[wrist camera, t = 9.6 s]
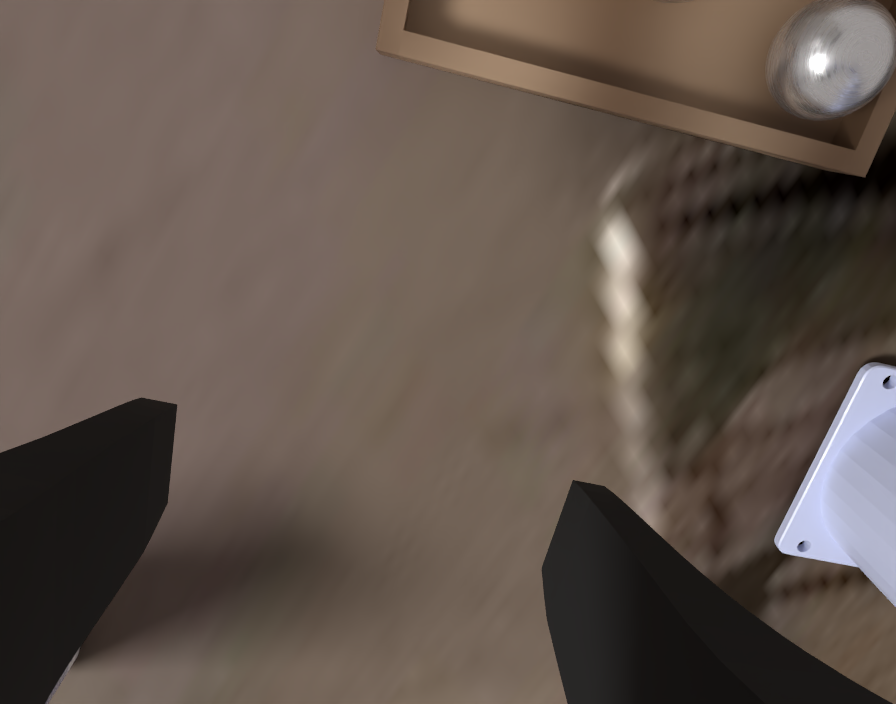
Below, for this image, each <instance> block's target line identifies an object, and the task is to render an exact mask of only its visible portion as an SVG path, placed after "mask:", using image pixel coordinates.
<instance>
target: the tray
mask: <svg viewBox="0 0 896 704" xmlns="http://www.w3.org/2000/svg"><path fill="white" fill-rule="evenodd" d="M813 1H815V0H693V1H689V2H684V3H663V2H658V1H654V0H384V5H383V11H382V16H381V22H380V27H379V33H378V39H377V44H376V50H377V51H378V52H379V53H380V54H381V55H385V56H389V57H393V58H397V59H400V60H404V61H408V62H412V63H416V64H420V65H423V66H427V67H431V68H435V69H439V70H443V71H446V72H450V73H454V74H458V75H462V76H466V77H469V78H473V79H477V80H481V81H485V82H489V83H492V84H496V85H500V86H504V87H508V88H512V89H515V90H519V91H523V92H527V93H531V94H535V95H538V96H542V97H546V98H550V99H554V100H558V101H561V102H565V103H569V104H573V105H577V106H581V107H584V108H588V109H592V110H596V111H600V112H604V113H607V114H611V115H615V116H619V117H623V118H627V119H630V120H634V121H638V122H642V123H646V124H650V125H653V126H657V127H661V128H665V129H669V130H673V131H676V132H680V133H684V134H688V135H692V136H696V137H699V138H703V139H707V140H711V141H715V142H719V143H722V144H726V145H730V146H734V147H738V148H742V149H745V150H749V151H753V152H757V153H761V154H765V155H768V156H772V157H776V158H780V159H784V160H788V161H791V162H795V163H799V164H803V165H807V166H811V167H814V168H818V169H822V170H827V171H832V172H838V173H844V174H849V175H855V176H860V177H865V176H866V174H867V172H868V170H869V168H870V165H871V163H872V161H873V159H874V157H875V154H876V152H877V150H878V148H879V146H880V143H881V141H882V139H883V137H884V135H885V132H886V130H887V128H888V126H889V124H890V121H891V119H892V117H893V115H894V113H895V110H896V67H895V69H894V72H893V74H892V76H891V78H890V79H889V81H888V82H887V84H886V85H885V87H884V88H883V89H882V90H881V91H880V92H879V93H878V95H877V96H876V97H875V98H873V99H872V100H871V101H870V102H869V103H868V104H866V105H865V106H863V107H862V108H860V109H858V110H857V111H855V112H853V113H851V114H848V115H846V116H843V117H840V118H836V119H832V120H823V121H813V120H807V119H802V118H799V117H796V116H794V115H792V114H790V113H788V112H786V111H785V110H784V109H782V108H781V107H780V106H779V105H778V103H777V102H776V101H775V100H774V98H773V97H772V95H771V93H770V91H769V89H768V85H767V81H766V71H765V69H766V60H767V55H768V52H769V48H770V46H771V44H772V41H773V39H774V38H775V36H776V34H777V32H778V31H779V30H780V28H781V27H782V26H783V25H784V23H785V22H786V21H787V20H788V19H789V18H790V17H791V16H792V15H793V14H794V13H796V12H797V11H798V10H800V9H801V8H803V7H804V6H806V5H807V4H809V3H811V2H813ZM876 1H877V2H879V3H881V4H882V5H883V6H884V7H885V8H886V9H887V10H888V11H889V12H890V14H891V15H892V16H893V18H894V20H895V22H896V0H876Z"/></svg>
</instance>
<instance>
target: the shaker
mask: <svg viewBox="0 0 896 704" xmlns="http://www.w3.org/2000/svg"><path fill="white" fill-rule="evenodd" d="M654 1H658V2H663V3H684V2H689V1H693V0H654Z"/></svg>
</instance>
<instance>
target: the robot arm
mask: <svg viewBox="0 0 896 704" xmlns="http://www.w3.org/2000/svg"><path fill="white" fill-rule="evenodd" d="M890 375H891V376H890ZM888 376H890V379H889V381H888V382H887V383H885V384H883V381H884V379H885V378H886V377H888ZM176 412H177V404H172V403H167V402H162V401H156V400H151V399H146V398H139V399H135V400H132V401H130V402H127V403H124V404H122V405H119V406H117V407H115V408H112V409H110V410H107V411H105V412H103V413H100V414H98V415H95V416H93V417H91V418H88V419H86V420H84V421H81V422H79V423H76V424H74V425H72V426H69V427H67V428H64V429H62V430H59V431H57V432H55V433H52V434H50V435H47V436H45V437H42V438H40V439H37V440H34V441H32V442H29V443H26V444H23V445H21V446H18V447H15V448H12V449H10V450H7V451H4V452H2V453H0V704H45V703H46V702H47V700H48V698H49V696H50V694H51V692H52V691H53V689H54V687H55V686H56V684H57V682H58V681H59V679H60V677H61V676H62V674H63V673H64V671H65V669H66V668H67V666H68V664H69V663H70V661H71V660H72V658H73V657H74V655H75V654H76V653H77V651H78V650H79V648H80V647H81V645H82V644H83V642H84V641H85V639H86V638H87V636H88V635H89V633H90V632H91V630H92V629H93V627H94V626H95V624H96V623H97V621H98V620H99V618H100V617H101V615H102V614H103V612H104V611H105V609H106V608H107V606H108V605H109V604H110V602H111V601H112V599H113V598H114V596H115V595H116V593H117V592H118V590H119V589H120V587H121V586H122V584H123V583H124V581H125V580H126V578H127V577H128V575H129V574H130V572H131V571H132V569H133V568H134V566H135V564H136V563H137V561H138V560H139V558H140V557H141V555H142V554H143V552H144V550H145V548H146V546H147V544H148V542H149V540H150V538H151V536H152V534H153V532H154V530H155V528H156V526H157V524H158V522H159V520H160V518H161V516H162V514H163V512H164V509H165V507H166V505H167V503H168V494H169V483H170V473H171V463H172V453H173V442H174V432H175V422H176ZM774 541H775V545H776V546H777V547H778V548H779V550H780V551H781V552H783V553H785V554H789V555H795V556H800V557H806V558H811V559H817V560H822V561H827V562H833V563H838V564H844V565H849V566H854V567H859V568H860V569H861V570H862V571H863V572H864V573H865V574H866V576H867V577H868V578H869V579H870V580H871V581H872V582H873V583H874V584H875V585H876V586H877V587H878V589H879V590H880V591H881V592H882V593H883V594H884V595H885V596H886V597H887V598H888V599H889V600H890V602H891V603H892V604H893V605H894V606H895V607H896V366H891V365H887V364H882V363H878V362H871V363H868V364H866V365H864V366H863V367H862V368H861V369H860V370H859V372H858V373H857V375H856V377H855V379H854V381H853V383H852V385H851V387H850V389H849V391H848V393H847V395H846V397H845V399H844V401H843V403H842V405H841V407H840V409H839V411H838V413H837V415H836V417H835V419H834V421H833V423H832V425H831V427H830V429H829V431H828V433H827V435H826V437H825V439H824V441H823V443H822V445H821V447H820V449H819V451H818V453H817V455H816V457H815V459H814V461H813V462H812V464H811V466H810V468H809V470H808V472H807V474H806V476H805V478H804V480H803V482H802V484H801V486H800V488H799V490H798V492H797V494H796V496H795V498H794V500H793V502H792V504H791V506H790V508H789V510H788V512H787V514H786V516H785V518H784V520H783V522H782V524H781V526H780V528H779V530H778V532H777V534H776V536H775V539H774ZM802 541H804V542H803V544H801V545H798V544H799V543H800V542H802ZM542 577H543V589H544V599H545V607H546V616H547V621H548V626H549V630H550V634H551V638H552V643H553V647H554V651H555V655H556V659H557V663H558V667H559V671H560V675H561V679H562V683H563V687H564V691H565V695H566V699H567V703H568V704H892V703H891V702H889V701H887V700H885V699H883V698H881V697H880V696H878V695H876V694H874V693H873V692H871V691H869V690H868V689H866V688H864V687H862V686H861V685H859V684H857V683H855V682H854V681H852V680H850V679H849V678H847V677H845V676H844V675H842V674H841V673H839V672H837V671H836V670H834V669H833V668H831V667H829V666H828V665H826V664H825V663H823V662H821V661H820V660H818V659H817V658H815V657H814V656H812V655H810V654H809V653H807V652H806V651H804V650H803V649H801V648H800V647H798V646H797V645H795V644H794V643H792V642H791V641H789V640H788V639H786V638H785V637H783V636H782V635H781V634H779V633H778V632H776V631H775V630H774V629H772V628H771V627H770V626H768V625H767V624H765V623H764V622H763V621H761V620H760V619H759V618H757V617H756V616H754V615H753V614H752V613H750V612H749V611H748V610H746V609H745V608H744V607H742V606H741V605H740V604H738V603H737V602H736V601H735V600H733V599H732V598H731V597H730V596H728V595H727V594H726V593H725V592H724V591H722V590H721V589H720V588H719V587H718V586H716V585H715V584H714V583H713V582H712V581H710V580H709V579H708V578H707V577H706V576H704V575H703V574H702V573H701V572H700V571H698V570H697V569H696V568H695V567H694V566H693V565H692V564H690V563H689V562H688V561H687V560H686V559H685V558H684V557H683V556H681V555H680V554H679V553H678V552H677V551H676V550H675V549H674V548H673V547H672V546H670V545H669V544H668V543H667V542H666V541H665V540H664V539H663V538H662V537H661V536H660V535H659V534H658V533H656V532H655V531H654V530H653V529H652V528H651V527H650V526H649V525H648V524H647V523H646V522H645V521H644V520H643V519H642V518H640V517H639V516H638V515H637V514H636V513H635V512H634V511H633V510H632V509H631V508H630V507H629V506H627V505H626V504H625V503H624V502H623V501H622V500H621V499H620V498H618V497H617V496H616V495H615V494H614V493H613V492H611V491H610V490H609V489H607V488H606V487H605V486H601V485H596V484H590V483H585V482H580V481H575V480H573V481H572V484H571V487H570V490H569V493H568V495H567V498H566V501H565V504H564V507H563V510H562V512H561V515H560V518H559V521H558V524H557V526H556V529H555V532H554V535H553V538H552V540H551V543H550V546H549V549H548V552H547V554H546V557H545V560H544V563H543V566H542Z"/></svg>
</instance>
